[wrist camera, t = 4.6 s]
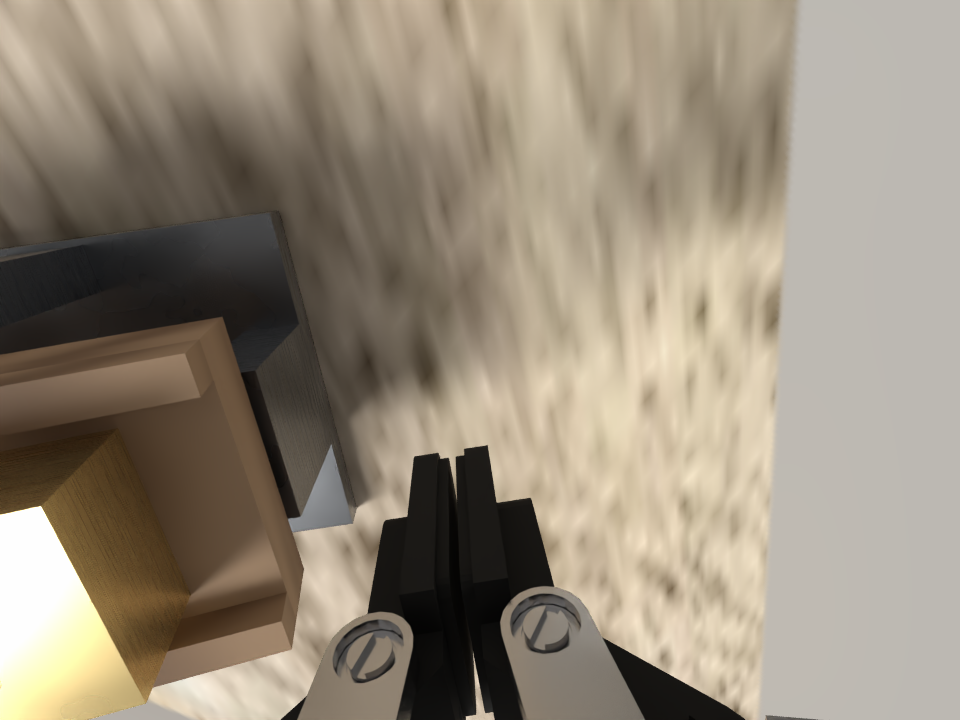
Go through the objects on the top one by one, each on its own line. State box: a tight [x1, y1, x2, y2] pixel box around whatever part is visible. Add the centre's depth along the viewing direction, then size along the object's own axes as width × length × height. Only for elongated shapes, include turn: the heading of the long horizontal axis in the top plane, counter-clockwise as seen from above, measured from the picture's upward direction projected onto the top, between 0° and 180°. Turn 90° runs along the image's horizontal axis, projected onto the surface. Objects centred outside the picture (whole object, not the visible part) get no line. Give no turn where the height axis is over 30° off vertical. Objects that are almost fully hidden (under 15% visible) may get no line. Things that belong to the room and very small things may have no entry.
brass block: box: [0, 428, 191, 720], centre depth 11 cm, size 5×5×3 cm
